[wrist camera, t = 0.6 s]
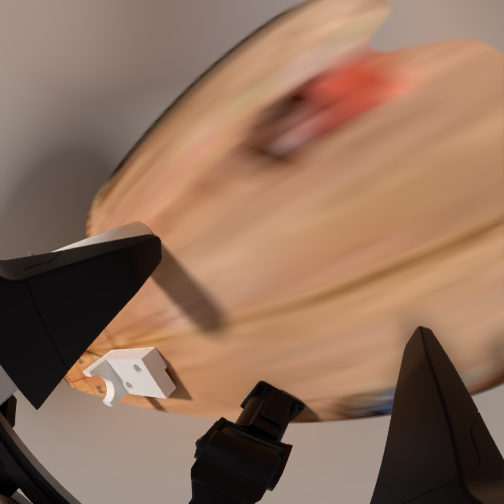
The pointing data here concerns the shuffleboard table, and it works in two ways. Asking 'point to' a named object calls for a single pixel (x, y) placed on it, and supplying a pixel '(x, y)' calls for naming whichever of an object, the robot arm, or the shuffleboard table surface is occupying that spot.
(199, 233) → the shuffleboard table surface
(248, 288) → the shuffleboard table surface
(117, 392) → the bracket
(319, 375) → the shuffleboard table surface
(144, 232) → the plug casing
